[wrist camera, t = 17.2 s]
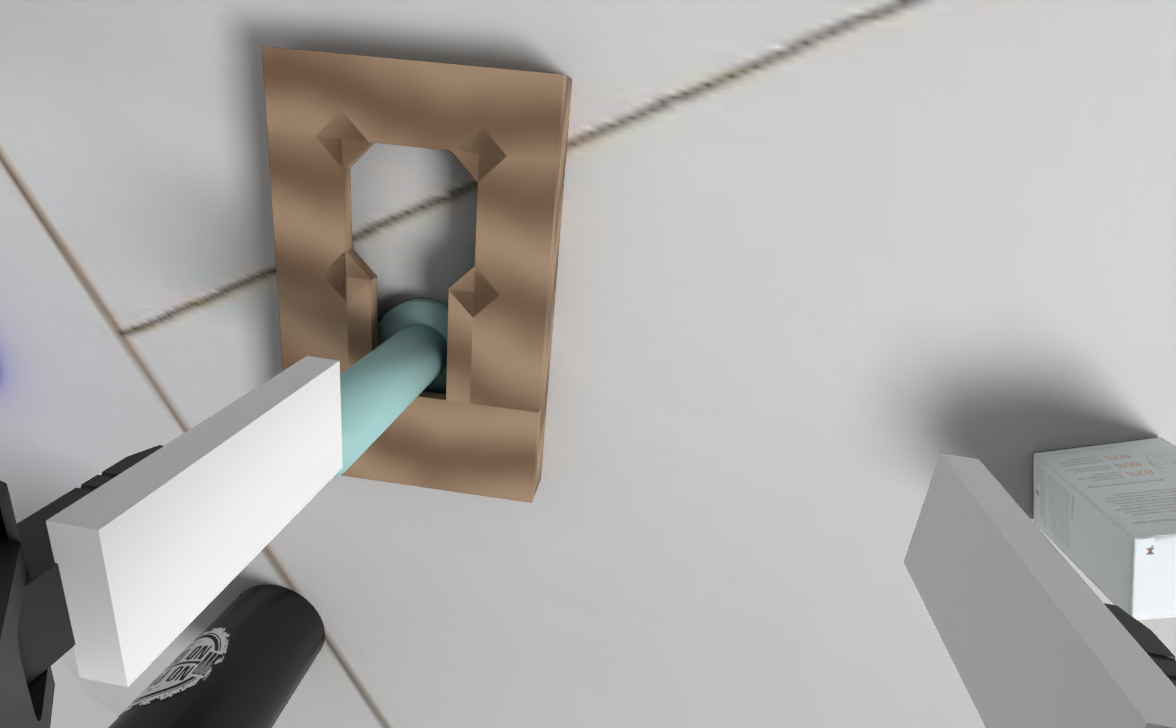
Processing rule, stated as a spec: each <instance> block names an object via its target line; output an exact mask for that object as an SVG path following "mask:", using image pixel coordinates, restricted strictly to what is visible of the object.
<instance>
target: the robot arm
mask: <svg viewBox="0 0 1176 728" xmlns="http://www.w3.org/2000/svg"><path fill="white" fill-rule="evenodd" d="M342 468H343V462H342V428H341V394H340V361H338V360H332V359H325V358H319V357H312V356H306V357H305V358H303V359H301V360H300V361H298V362H297V363H295V364H293V365H292V366H290V367H289V368H287V369H286V370H284V371H282V372H281V373H279V374H278V375H276V376H274V377H273V378H271V379H270V380H268V381H266V382H265V383H263V384H262V385H260V386H259V387H257V388H255V389H254V390H252V391H251V392H249V393H247V394H246V395H244V396H243V397H241V398H240V399H238V400H236V401H235V402H233V403H232V404H230V405H228V406H227V407H225V408H224V409H222V410H221V411H219V412H217V413H216V414H214V415H213V416H211V417H209V418H208V419H206V420H205V421H203V422H201V423H200V424H198V425H197V426H195V427H194V428H192V429H190V430H189V431H187V432H186V433H184V434H182V435H181V436H179V437H178V438H176V439H175V440H173V441H171V442H170V443H168V444H167V445H165V446H161V445H159V446H156V447H153V448H150V449H147V450H145V451H142V452H139V453H136V454H133V455H131V456H128V457H126V458H124V459H123V460H121V461H119V462H118V463H116V464H114V465H113V466H111V467H110V468H108V469H106V470H105V471H103V472H102V475H96V476H95V477H93V478H91V479H90V480H88V481H87V482H85V483H83V484H82V486H81V488H75V489H73V490H72V491H70V492H68V493H67V494H65V495H63V496H62V497H60V498H59V499H57V500H55V501H54V502H52V503H50V504H49V505H47V506H45V507H44V508H42V509H40V510H39V511H37V512H36V513H34V514H32V515H31V516H29V517H27V518H26V519H24V520H22V521H21V522H19V523H17V524H16V520H15V516H14V512H13V508H12V503H11V499H10V495H9V491H8V487H7V484H6V483H4V482H2V481H0V728H50V723H51V714H52V705H53V696H54V687H55V683H54V679H53V675H52V671H51V665H52V664H53V663H54V662H56V661H57V660H58V659H59V658H60V657H61V656H63V655H64V654H65V653H66V652H67V651H68V650H70V649H71V648H72V647H74V652H75V656H76V661H77V665H78V670H79V674H80V678H85V679H90V680H95V681H100V682H105V683H110V684H115V685H119V686H124V687H129V686H130V685H131V684H132V683H133V681H134V680H135V679H136V678H137V677H138V676H139V675H140V674H141V673H142V672H143V671H144V670H145V669H146V668H147V667H148V666H149V665H150V664H151V663H152V662H153V661H154V660H155V659H156V658H157V657H158V656H159V655H160V654H161V653H162V652H163V651H164V650H165V649H166V648H167V647H168V646H169V645H170V644H171V643H172V642H173V641H174V640H175V639H176V637H177V636H178V635H179V634H180V633H181V632H182V631H183V630H184V629H185V628H186V627H187V626H188V625H189V624H190V623H191V622H192V621H193V620H194V619H195V618H196V617H197V616H198V615H199V614H200V613H201V612H202V611H203V610H204V609H205V608H206V607H207V606H208V605H209V604H210V603H211V602H212V601H213V600H214V599H215V598H216V597H217V596H218V594H219V593H220V592H221V591H222V590H223V589H224V588H225V587H226V586H227V585H228V584H229V583H230V582H231V581H232V580H233V579H234V578H235V577H236V576H237V575H238V574H239V573H240V572H241V571H242V570H243V569H244V568H245V567H246V566H247V565H248V564H249V563H250V562H251V561H252V560H253V559H254V558H255V557H256V556H257V555H258V554H259V553H260V551H261V550H262V549H263V548H264V547H265V546H266V545H267V544H268V543H269V542H270V541H271V540H272V539H273V538H274V537H275V536H276V535H277V534H278V533H279V532H280V531H281V530H282V529H283V528H284V527H285V526H286V525H287V524H288V523H289V522H290V521H291V520H292V519H293V518H294V517H295V516H296V515H297V514H298V513H299V512H300V511H301V510H302V509H303V507H304V506H305V505H306V504H307V503H308V502H309V501H310V500H311V499H312V498H313V497H314V496H315V495H316V494H317V493H318V492H319V491H320V490H321V489H322V488H323V487H324V486H325V485H326V484H327V483H328V482H329V481H330V480H331V479H332V478H333V477H334V476H335V475H336V474H337V473H338V472H339V471H340V470H341V469H342ZM904 563H905V565H906V567H907V569H908V571H909V573H910V575H911V577H912V579H913V581H914V583H915V586H916V588H917V590H918V592H919V594H920V596H921V598H922V600H923V602H924V604H925V606H926V608H927V610H928V612H929V614H930V616H931V618H932V620H933V622H934V624H935V626H936V628H937V630H938V632H939V634H940V636H941V638H942V640H943V642H944V644H945V646H946V648H947V650H948V652H949V654H950V656H951V658H952V660H953V662H954V664H955V666H956V668H957V670H958V672H959V674H960V676H961V678H962V680H963V682H964V684H965V686H966V688H967V690H968V692H969V694H970V696H971V698H972V700H973V702H974V704H975V706H976V708H977V710H978V712H979V714H980V716H981V719H982V721H983V723H984V725H985V727H986V728H1176V661H1175V658H1176V657H1175V656H1174V655H1173V654H1172V653H1171V652H1170V651H1169V650H1168V648H1167V647H1166V646H1165V645H1164V644H1163V643H1162V642H1161V641H1160V640H1159V639H1158V637H1157V636H1156V635H1155V634H1154V633H1153V632H1152V631H1151V630H1150V629H1148V628H1147V627H1146V626H1144V625H1143V624H1142V623H1140V622H1139V621H1137V620H1136V619H1135V618H1133V617H1132V616H1131V615H1129V614H1128V613H1127V612H1125V611H1124V610H1122V609H1121V608H1120V607H1118V606H1117V605H1111V604H1105V603H1103V602H1102V601H1101V600H1100V599H1099V597H1098V596H1097V595H1096V594H1095V593H1094V592H1093V591H1092V589H1091V588H1090V587H1089V586H1088V585H1087V584H1086V582H1085V581H1084V580H1083V579H1082V578H1081V577H1080V576H1079V574H1078V573H1077V572H1076V571H1075V570H1074V569H1073V567H1072V566H1071V565H1070V564H1069V563H1068V562H1067V561H1066V559H1065V558H1064V557H1063V556H1062V555H1061V554H1060V552H1059V551H1058V550H1057V549H1056V548H1055V547H1054V545H1053V544H1052V543H1051V542H1050V541H1049V540H1048V539H1047V537H1046V536H1045V535H1044V534H1043V533H1042V532H1041V530H1040V529H1039V528H1038V527H1037V526H1036V525H1035V524H1034V522H1033V521H1032V520H1031V519H1030V518H1029V517H1028V515H1027V514H1026V513H1025V512H1024V511H1023V510H1022V509H1021V507H1020V506H1019V505H1018V504H1017V503H1016V502H1015V500H1014V499H1013V498H1012V497H1011V496H1010V495H1009V494H1008V492H1007V491H1006V490H1005V489H1004V488H1003V487H1002V485H1001V484H1000V483H999V482H998V481H997V480H996V478H995V477H994V476H993V475H992V474H991V473H990V472H989V470H988V469H987V468H986V467H985V466H984V465H983V463H982V462H981V461H980V460H979V459H975V458H969V457H962V456H956V455H949V454H943V453H940V456H939V459H938V462H937V465H936V468H935V471H934V474H933V477H932V480H931V483H930V486H929V489H928V492H927V495H926V498H925V500H924V503H923V506H922V509H921V512H920V515H919V518H918V521H917V524H916V527H915V530H914V533H913V536H912V539H911V542H910V545H909V548H908V551H907V554H906V557H905V560H904Z"/></svg>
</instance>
